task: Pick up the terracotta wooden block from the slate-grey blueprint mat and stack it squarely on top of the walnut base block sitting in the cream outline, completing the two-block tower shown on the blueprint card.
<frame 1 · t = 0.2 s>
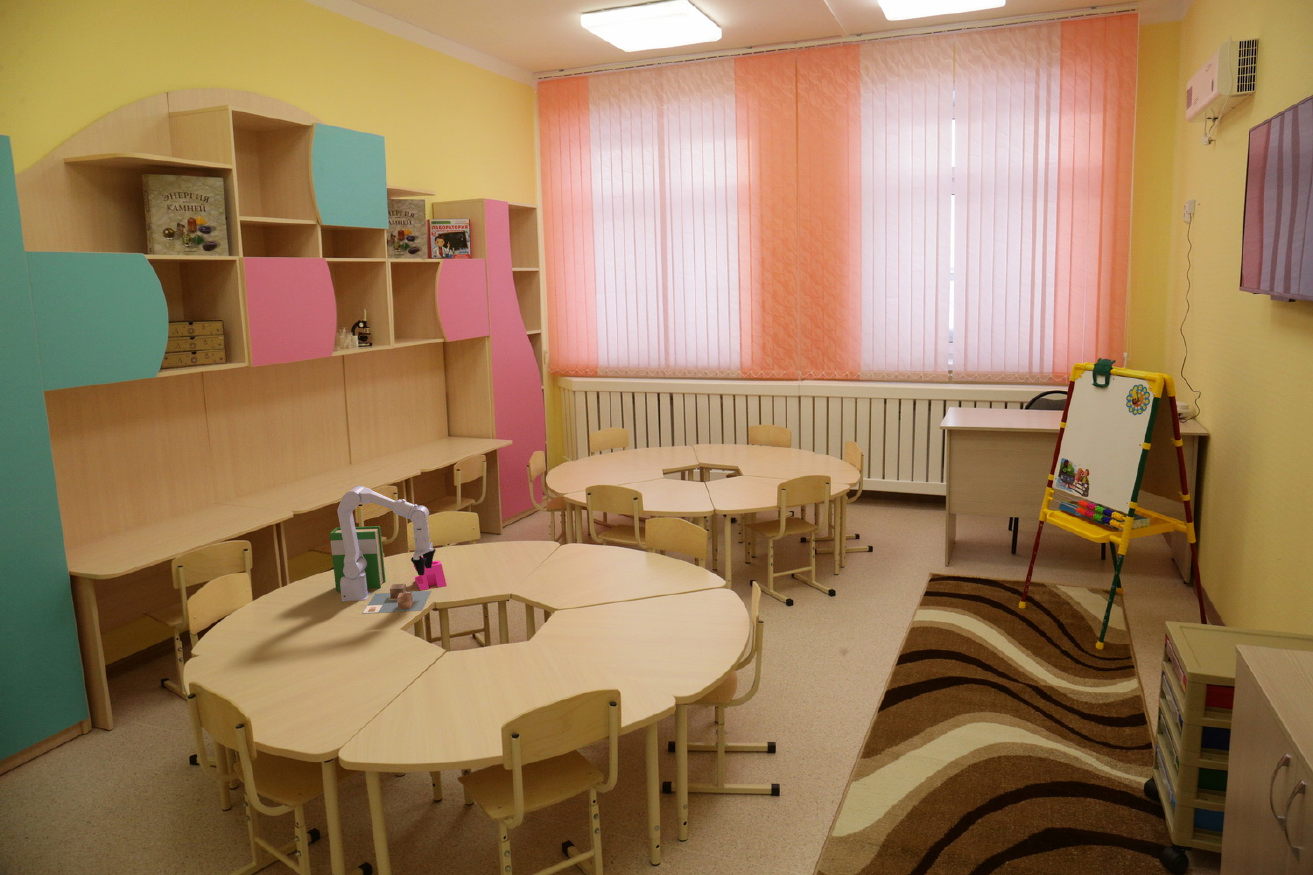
hand: (424, 571, 344), 10 cm above the table, fingers open, 7 cm apart
hardback book: (361, 587, 358), on the table
walnut block: (398, 596, 345), resting on blueprint mat
bracket: (430, 585, 358), on the table
blueprint mat: (398, 602, 340), on the table
terracotta block: (405, 606, 335), resting on blueprint mat
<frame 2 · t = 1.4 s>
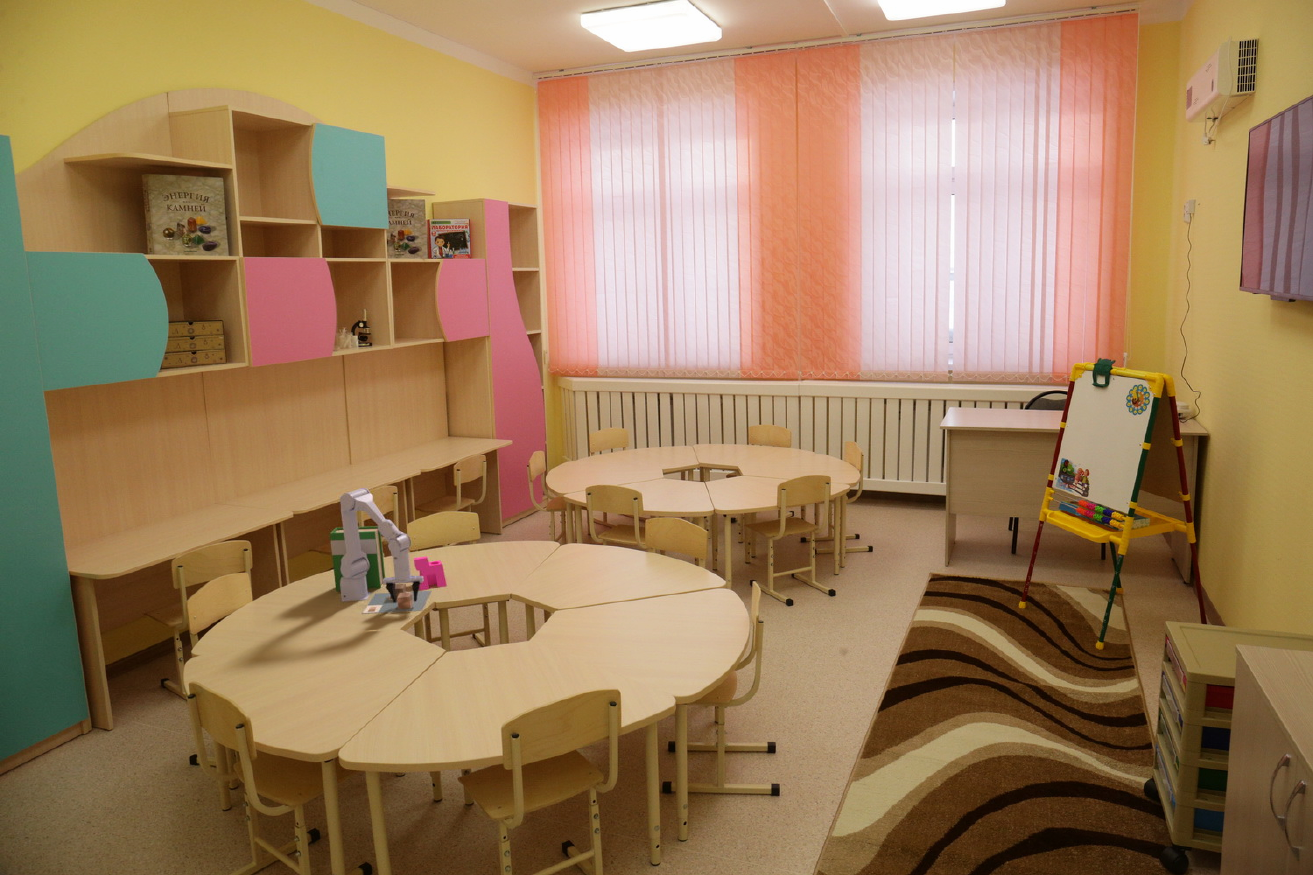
hand: (405, 601, 334), 3 cm above the table, fingers open, 7 cm apart
nothing on the table moved.
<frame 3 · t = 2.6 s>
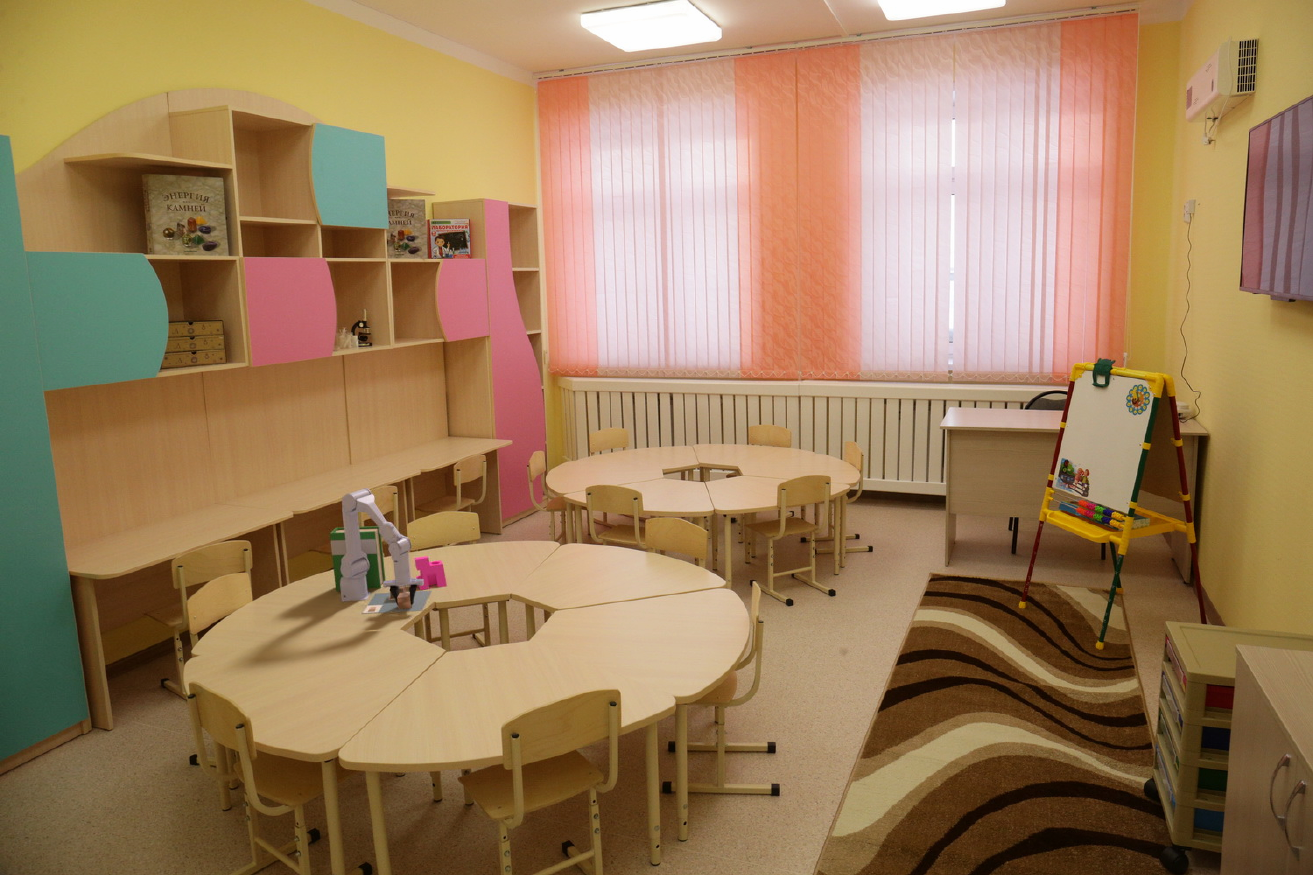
hand: (405, 604, 335), 1 cm above the table, fingers closed on terracotta block, 4 cm apart
terracotta block: (405, 606, 335), resting on blueprint mat, touching gripper
everything else where it was.
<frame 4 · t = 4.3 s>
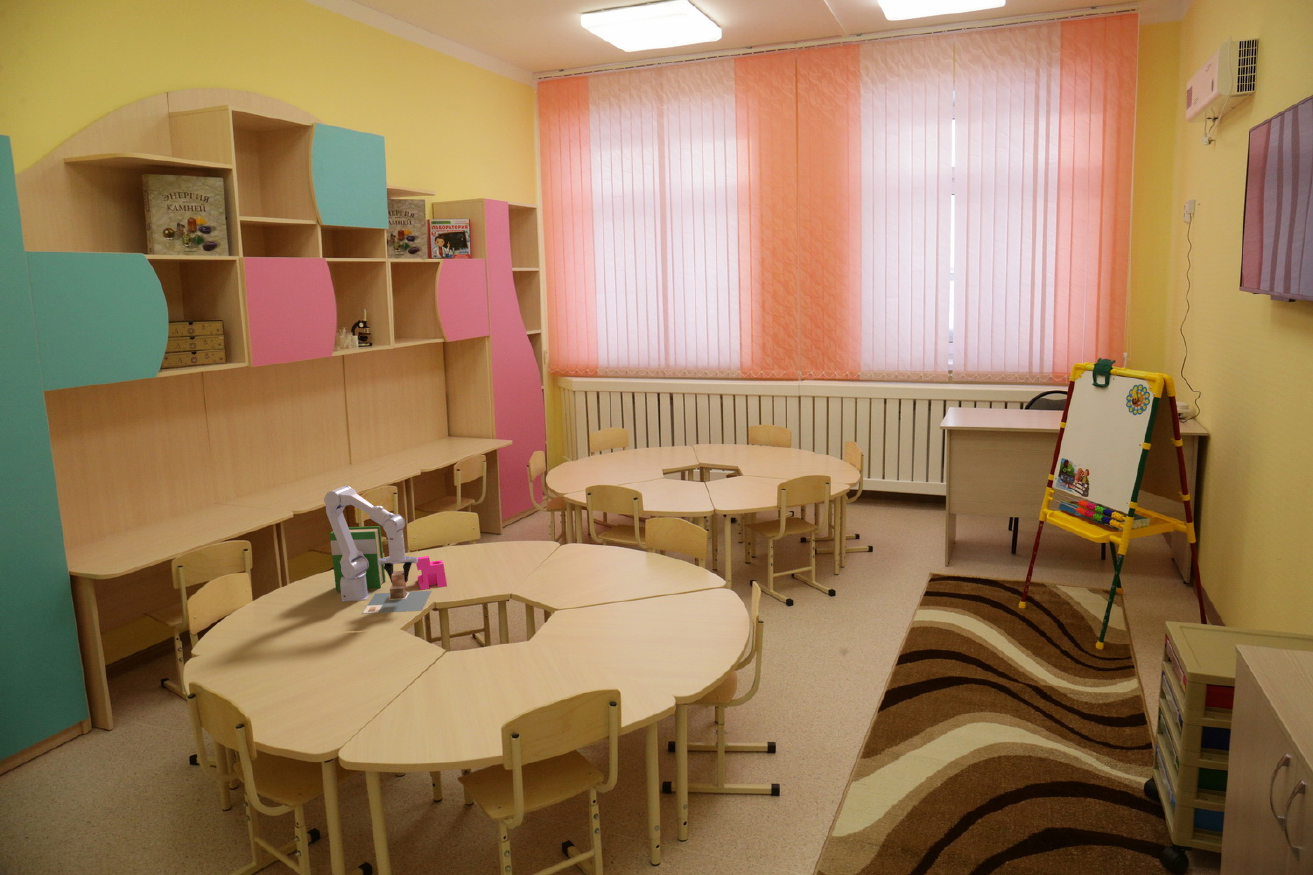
hand: (399, 581, 339), 8 cm above the table, fingers closed on terracotta block, 4 cm apart
terracotta block: (399, 584, 339), point 7 cm above the table, touching gripper
everything else where it was.
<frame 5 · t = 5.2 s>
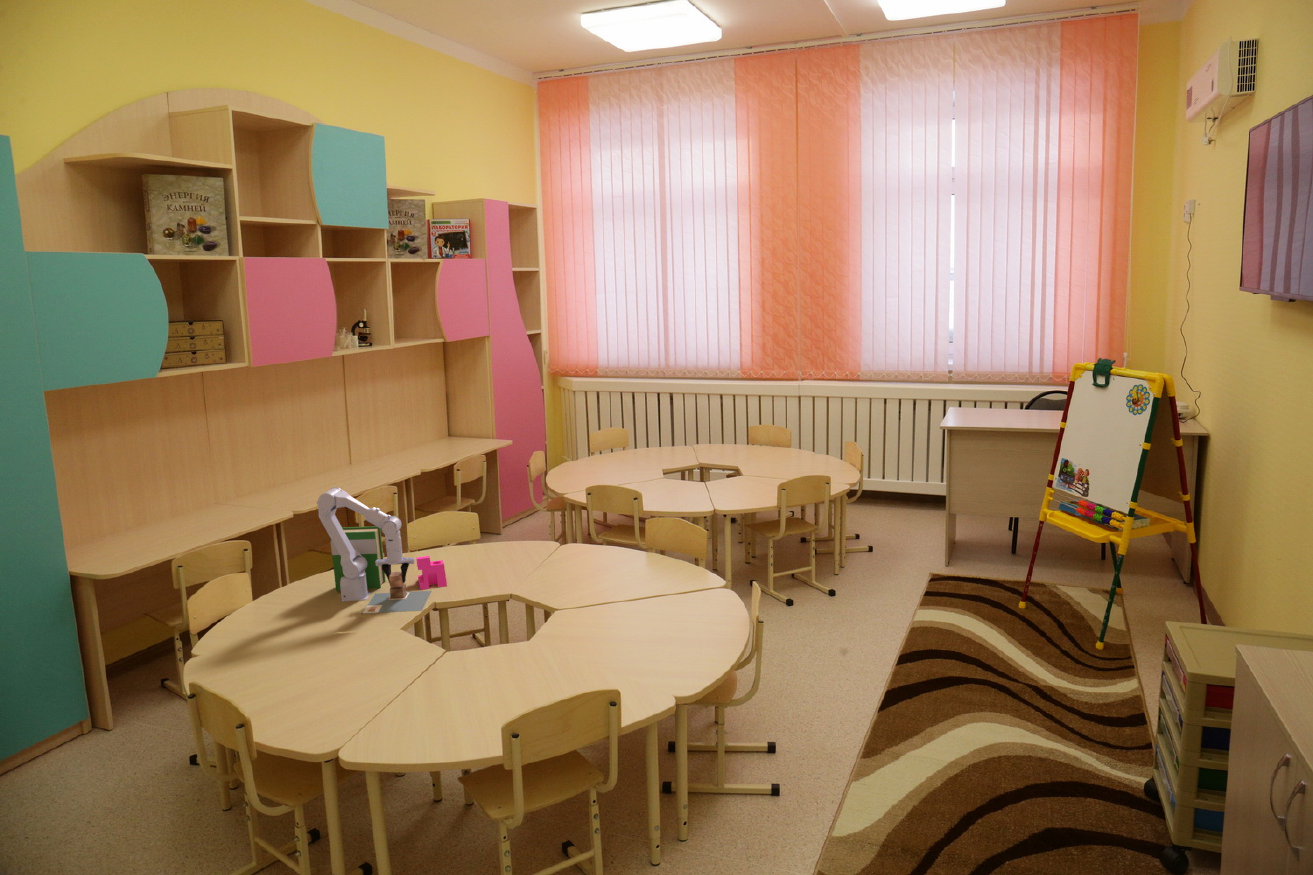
hand: (397, 582, 344), 6 cm above the table, fingers closed on terracotta block, 4 cm apart
terracotta block: (397, 584, 344), point 5 cm above the table, touching gripper
everything else where it was.
when the fingers open (6 cm above the table, at t = 6.0 s): terracotta block stays where it is, resting on walnut block.
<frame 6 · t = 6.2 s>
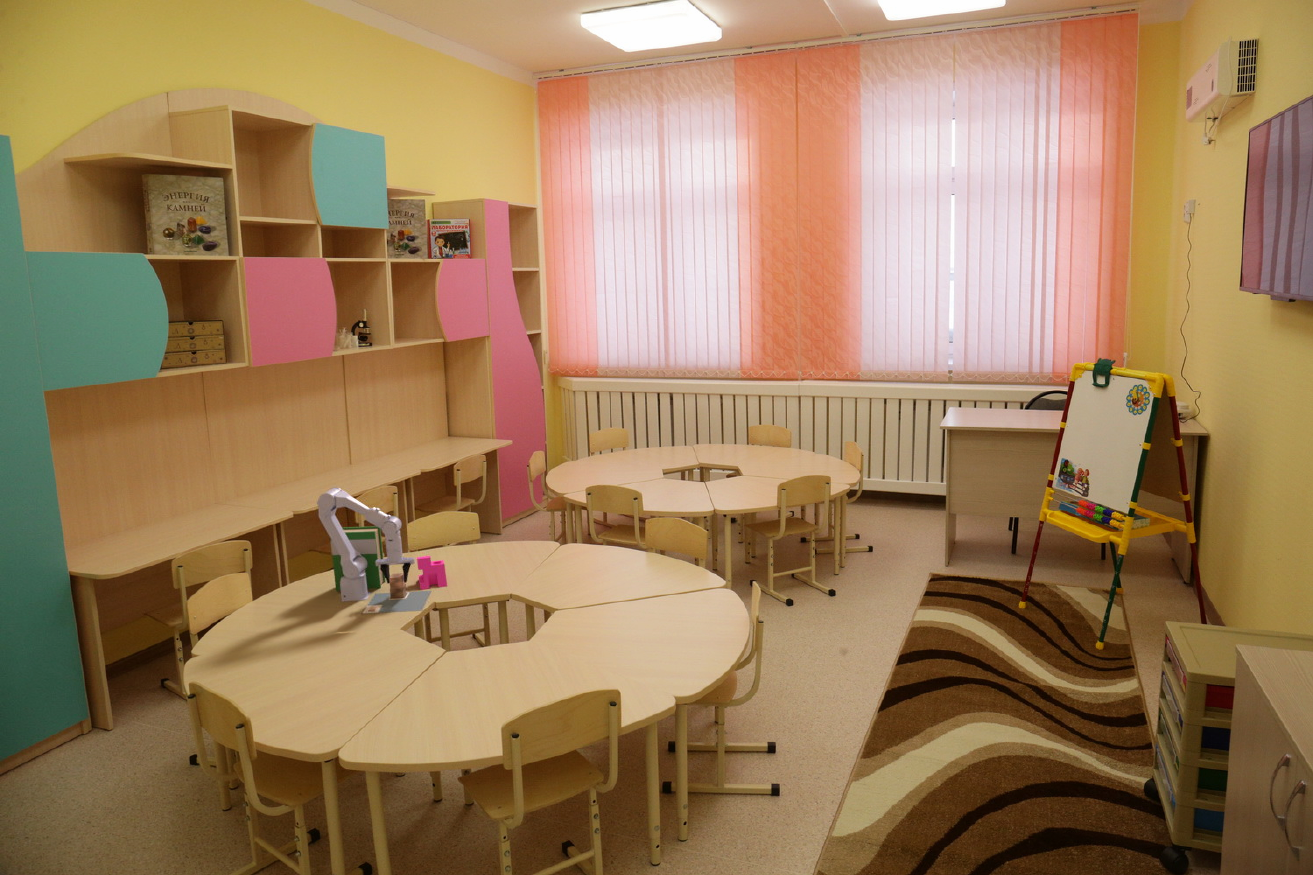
hand: (397, 582, 344), 6 cm above the table, fingers open, 6 cm apart
walnut block: (398, 596, 345), resting on blueprint mat, touching terracotta block
terracotta block: (397, 586, 344), point 4 cm above the table, touching walnut block
everything else where it was.
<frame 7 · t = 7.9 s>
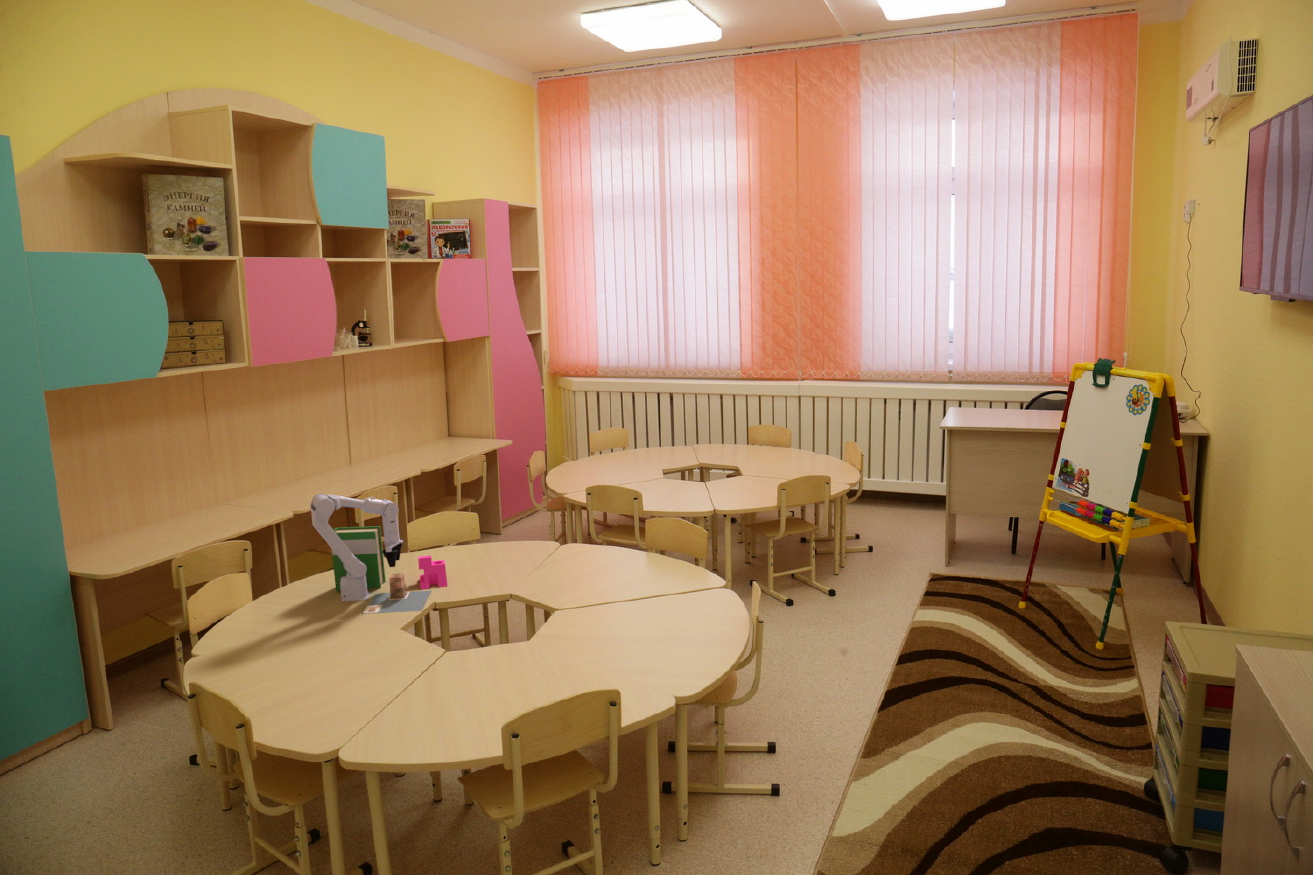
hand: (394, 563, 353), 10 cm above the table, fingers open, 7 cm apart
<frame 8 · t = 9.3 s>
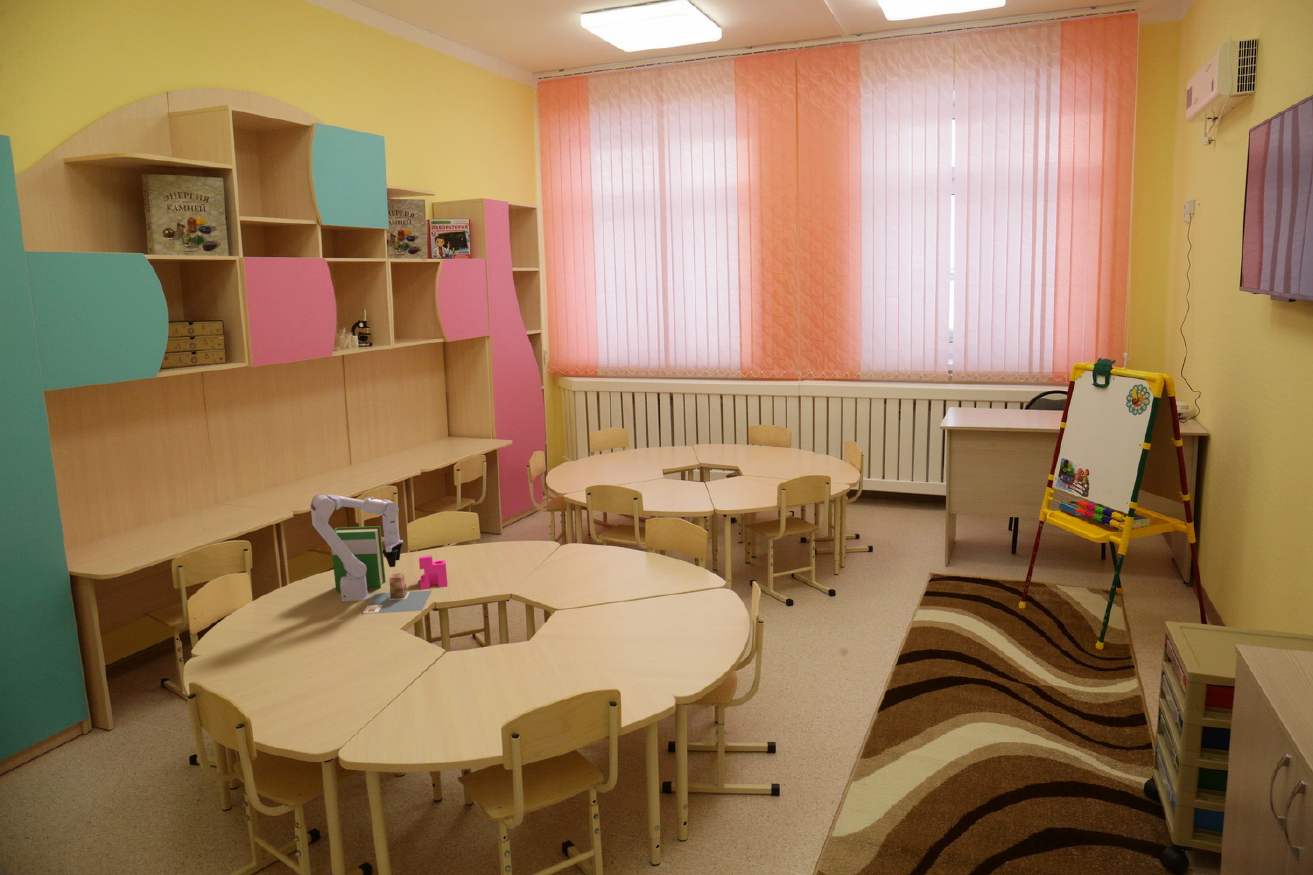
hand: (394, 563, 353), 10 cm above the table, fingers open, 7 cm apart
at the end: terracotta block 0.2 cm from the walnut block (horizontally); terracotta block point 4.5 cm above the table; the gripper is holding nothing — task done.
